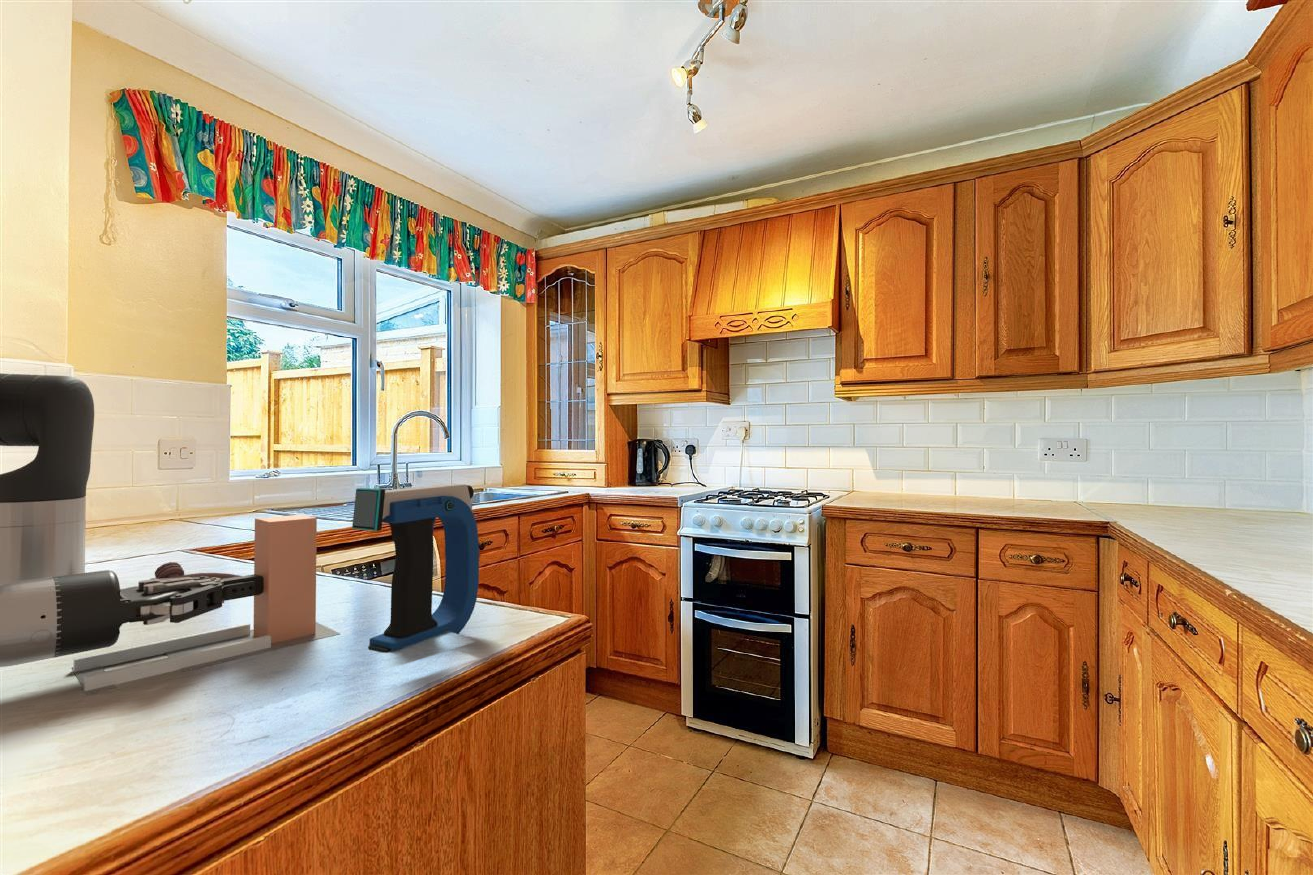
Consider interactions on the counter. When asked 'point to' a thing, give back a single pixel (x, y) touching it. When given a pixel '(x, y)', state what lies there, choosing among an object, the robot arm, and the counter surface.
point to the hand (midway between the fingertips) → (261, 583)
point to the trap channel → (180, 655)
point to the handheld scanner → (424, 558)
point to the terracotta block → (285, 577)
